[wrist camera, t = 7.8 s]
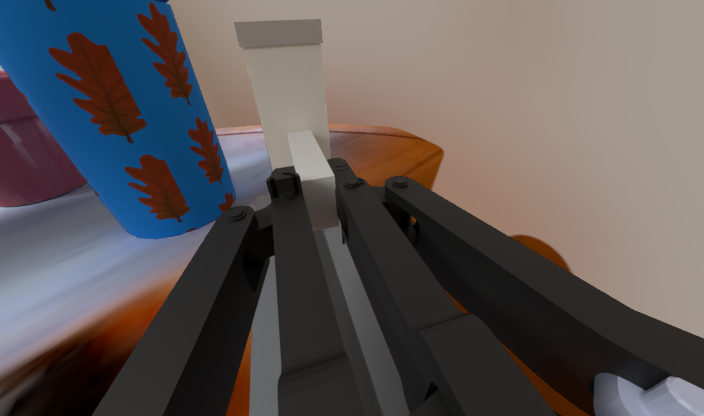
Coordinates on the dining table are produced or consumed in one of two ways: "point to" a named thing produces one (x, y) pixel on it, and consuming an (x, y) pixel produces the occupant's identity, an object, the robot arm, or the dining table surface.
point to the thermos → (121, 107)
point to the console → (354, 324)
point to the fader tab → (286, 82)
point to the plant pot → (29, 153)
